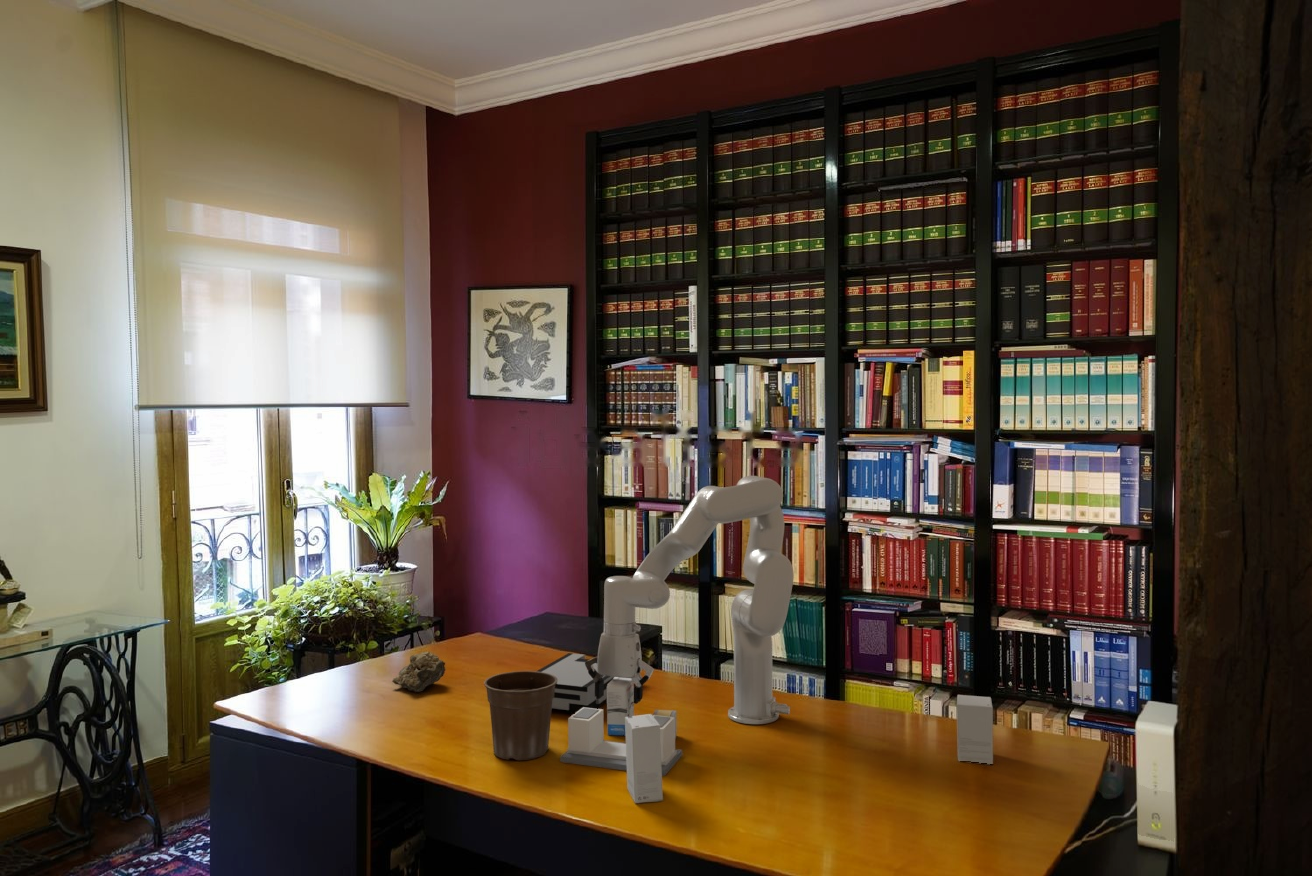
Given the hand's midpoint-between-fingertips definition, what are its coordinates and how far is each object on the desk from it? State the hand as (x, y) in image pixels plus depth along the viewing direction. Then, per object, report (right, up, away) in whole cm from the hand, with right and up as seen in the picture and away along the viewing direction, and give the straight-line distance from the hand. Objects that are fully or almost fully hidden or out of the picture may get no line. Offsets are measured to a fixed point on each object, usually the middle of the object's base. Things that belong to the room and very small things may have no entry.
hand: (618, 699), depth 214 cm
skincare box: (+7, -8, -37) cm, 38 cm away
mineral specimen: (-58, -7, +36) cm, 68 cm away
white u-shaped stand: (+2, -8, -18) cm, 20 cm away
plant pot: (-21, -8, -13) cm, 26 cm away
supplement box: (+79, -7, -19) cm, 81 cm away
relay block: (+11, -7, -7) cm, 15 cm away
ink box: (+1, -8, 0) cm, 8 cm away
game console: (-12, -7, +27) cm, 31 cm away
